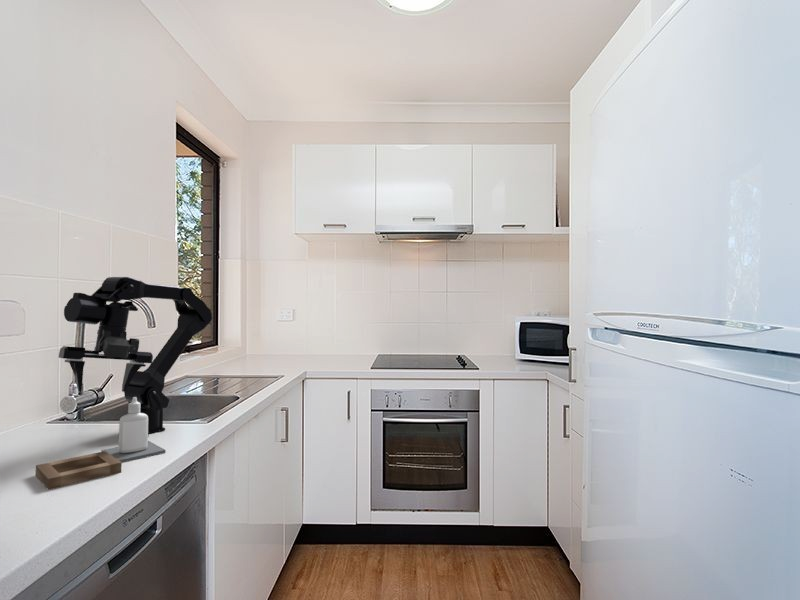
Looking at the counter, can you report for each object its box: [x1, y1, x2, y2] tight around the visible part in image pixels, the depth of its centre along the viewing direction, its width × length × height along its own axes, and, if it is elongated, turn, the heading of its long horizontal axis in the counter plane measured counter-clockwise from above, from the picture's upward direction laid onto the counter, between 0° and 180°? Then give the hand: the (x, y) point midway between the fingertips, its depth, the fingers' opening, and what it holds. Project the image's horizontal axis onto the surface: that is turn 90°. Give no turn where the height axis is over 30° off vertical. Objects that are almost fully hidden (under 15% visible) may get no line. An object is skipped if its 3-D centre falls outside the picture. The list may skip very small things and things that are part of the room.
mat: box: [100, 440, 166, 463], centre depth 104 cm, size 10×10×1 cm
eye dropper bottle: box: [118, 397, 149, 453], centre depth 104 cm, size 4×6×12 cm
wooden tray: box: [35, 451, 123, 490], centre depth 91 cm, size 12×10×2 cm
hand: (102, 391), depth 110 cm, fingers open, 9 cm apart
